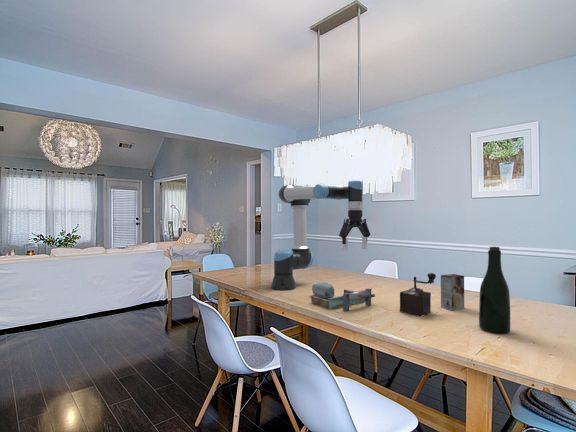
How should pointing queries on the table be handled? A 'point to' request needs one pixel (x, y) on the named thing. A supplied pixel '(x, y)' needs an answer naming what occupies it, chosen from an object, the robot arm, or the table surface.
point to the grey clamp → (355, 296)
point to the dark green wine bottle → (494, 297)
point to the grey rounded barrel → (323, 290)
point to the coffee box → (452, 292)
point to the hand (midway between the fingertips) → (354, 249)
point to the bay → (333, 301)
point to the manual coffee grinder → (416, 299)
